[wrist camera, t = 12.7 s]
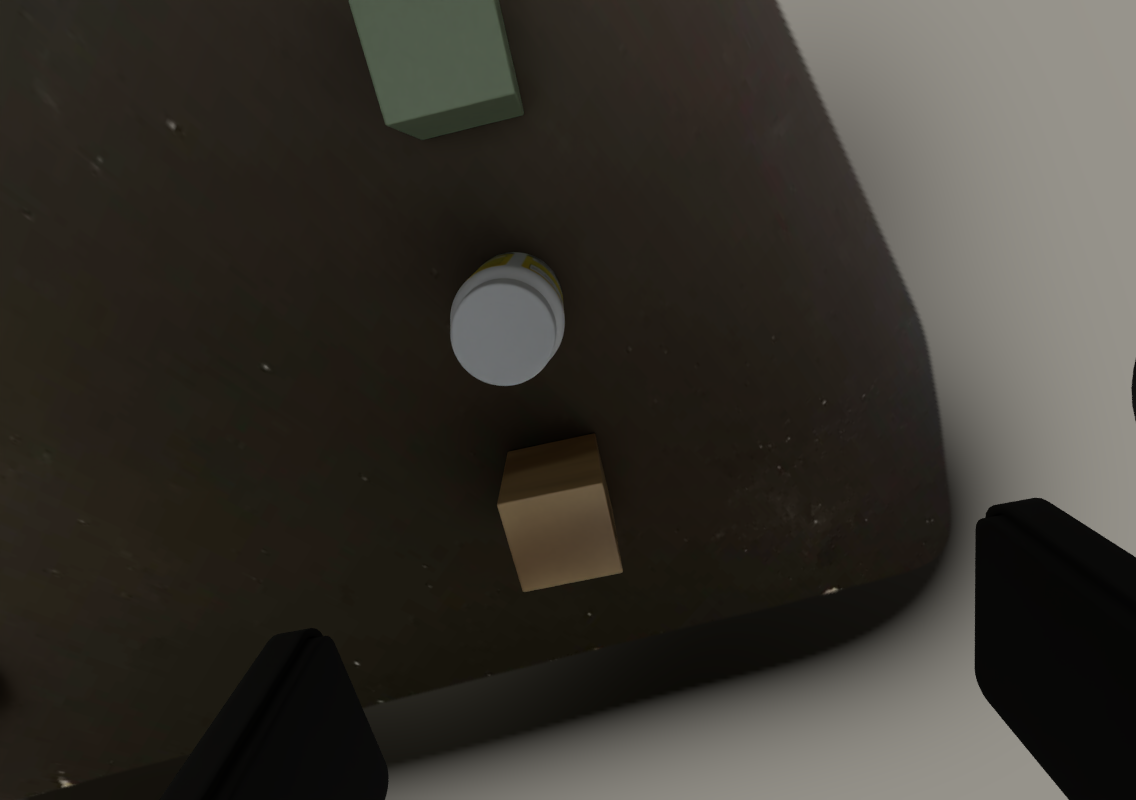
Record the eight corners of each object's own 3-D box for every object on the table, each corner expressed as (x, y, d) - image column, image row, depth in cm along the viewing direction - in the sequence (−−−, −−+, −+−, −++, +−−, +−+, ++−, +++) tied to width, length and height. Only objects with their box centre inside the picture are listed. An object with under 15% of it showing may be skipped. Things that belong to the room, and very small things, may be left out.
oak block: (507, 451, 33) (496, 504, 27) (595, 432, 32) (602, 482, 27) (528, 527, 34) (522, 592, 29) (612, 510, 34) (623, 573, 28)
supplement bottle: (464, 336, 31) (431, 385, 23) (475, 243, 29) (443, 261, 21) (555, 350, 31) (554, 404, 23) (570, 260, 29) (575, 284, 21)
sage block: (387, 19, 26) (338, -30, 20) (496, -9, 26) (479, -68, 20) (420, 140, 27) (385, 126, 22) (524, 115, 27) (515, 93, 22)
